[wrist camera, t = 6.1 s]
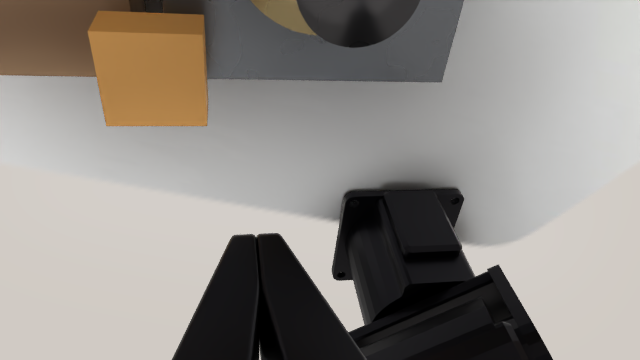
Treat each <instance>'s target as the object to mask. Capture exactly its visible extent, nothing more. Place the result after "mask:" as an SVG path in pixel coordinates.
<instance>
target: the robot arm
mask: <svg viewBox="0 0 640 360" xmlns="http://www.w3.org/2000/svg"><path fill="white" fill-rule="evenodd" d="M453 198H455V199H453ZM451 199H453V200H451ZM354 200H357V201H356V202H353V203H352V202H351V201H354ZM463 201H464V197H463V195H462V194H461V192H460V191H459V190H457V189H440V190H397V191H354V192H350V193H348V194H346V195H345V197H344V199H343V205H342V211H341V217H340V223H339V230H338V236H337V242H336V248H335V254H334V260H333V266H332V274H333V278H334V279H336V280H353V281H354V285H355V289H356V293H357V296H358V301H359V305H360V309H361V312H362V317H363V320H364V324H365V325H364V326H362V327H360V328H357V329H355V330H353V331H351V332H347V330H346V329H345V327H344V326H343V324H342V323H341V322H340V320H339V318H338V317H337V316H336V314H335V313H334V311H333V310H332V308H331V307H330V305H329V304H328V303H327V301H326V300H325V298H324V297H323V296H322V294H321V292H320V291H319V290H318V288H317V287H316V285H315V284H314V282H313V281H312V279H311V278H310V277H309V275H308V274H307V272H306V271H305V269H304V268H303V267H302V265H301V264H300V262H299V261H298V259H297V258H296V256H295V255H294V253H293V252H292V251H291V249H290V248H289V246H288V245H287V243H286V242H285V240H284V239H283V238H282V236H281V235H280V234H278V233H268V234H259V235H257V237H255V235H253V234H247V235H234V236H232V238H231V239H230V241H229V243H228V245H227V247H226V249H225V251H224V253H223V255H222V257H221V259H220V262H219V264H218V266H217V268H216V270H215V272H214V274H213V276H212V278H211V280H210V282H209V284H208V286H207V289H206V290H205V292H204V295H203V297H202V299H201V301H200V303H199V305H198V307H197V309H196V311H195V313H194V315H193V317H192V319H191V321H190V323H189V325H188V328H187V330H186V332H185V334H184V336H183V338H182V340H181V342H180V344H179V346H178V348H177V350H176V352H175V354H174V357H173V358H172V360H259V345H260V355H261V360H553V359H552V357H551V355H550V353H549V351H548V350H547V348H546V346H545V344H544V342H543V340H542V339H541V337H540V335H539V333H538V332H537V330H536V328H535V326H534V324H533V323H532V321H531V319H530V318H529V316H528V314H527V312H526V311H525V309H524V307H523V306H522V304H521V302H520V300H519V299H518V297H517V295H516V294H515V292H514V290H513V289H512V287H511V286H510V283H509V282H508V280H507V279H506V277H505V275H504V273H503V272H502V270H501V268H500V266H499V265H496V266H494V267H491V268H489V269H487V270H488V271H487V272H485V273H483V274H481V275H478V276H476V277H475V275H474V273H473V271H472V269H471V267H470V265H469V263H468V261H467V259H466V257H465V255H464V253H463V251H462V245H461V243H460V241H459V239H458V237H457V235H456V233H455V231H454V226H455V223H456V221H457V218H458V215H459V212H460V209H461V207H462V204H463Z"/></svg>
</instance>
